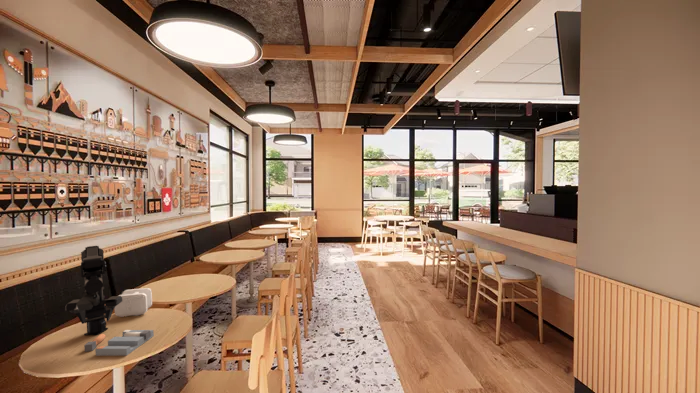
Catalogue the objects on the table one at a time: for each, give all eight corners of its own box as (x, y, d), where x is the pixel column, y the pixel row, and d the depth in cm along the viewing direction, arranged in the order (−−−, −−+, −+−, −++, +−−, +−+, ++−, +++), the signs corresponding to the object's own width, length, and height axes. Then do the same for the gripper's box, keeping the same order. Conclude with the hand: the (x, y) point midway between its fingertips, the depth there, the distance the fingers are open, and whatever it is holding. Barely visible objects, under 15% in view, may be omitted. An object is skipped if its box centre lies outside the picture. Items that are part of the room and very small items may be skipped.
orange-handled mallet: (98, 339, 136) (98, 333, 136) (105, 339, 137) (105, 332, 137) (84, 351, 126) (84, 345, 126) (92, 350, 127) (92, 344, 127)
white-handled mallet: (123, 339, 134) (123, 333, 134) (128, 336, 137) (128, 330, 137) (146, 339, 134) (145, 333, 133) (150, 336, 136) (150, 330, 136)
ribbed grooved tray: (95, 355, 123) (95, 348, 123) (125, 336, 139) (125, 329, 139) (126, 355, 123) (126, 348, 123) (153, 335, 139) (153, 329, 139)
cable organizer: (154, 307, 173) (153, 287, 172) (145, 315, 162) (144, 293, 162) (124, 310, 170) (123, 289, 169) (113, 318, 159) (112, 296, 159)
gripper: (55, 295, 122) (57, 333, 122) (108, 291, 126) (110, 328, 127) (73, 286, 133) (75, 321, 133) (122, 282, 137) (123, 316, 138)
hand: (95, 322), depth 132 cm, fingers open, 9 cm apart
